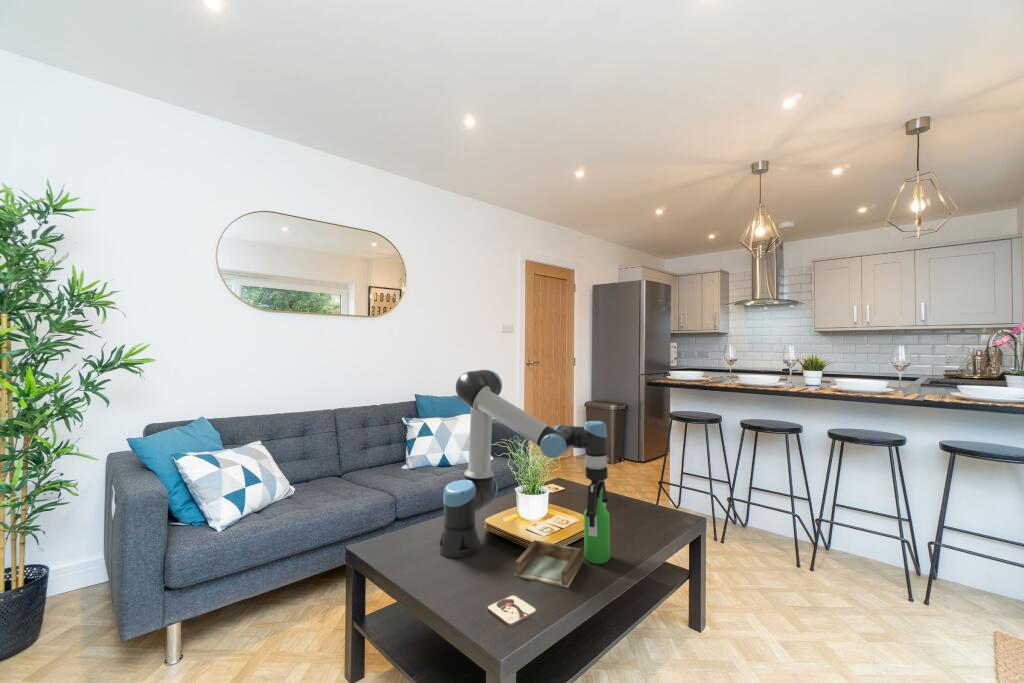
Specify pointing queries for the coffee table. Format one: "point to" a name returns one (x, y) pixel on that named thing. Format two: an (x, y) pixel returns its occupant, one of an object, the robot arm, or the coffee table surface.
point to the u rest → (549, 563)
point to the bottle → (598, 536)
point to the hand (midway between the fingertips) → (597, 527)
